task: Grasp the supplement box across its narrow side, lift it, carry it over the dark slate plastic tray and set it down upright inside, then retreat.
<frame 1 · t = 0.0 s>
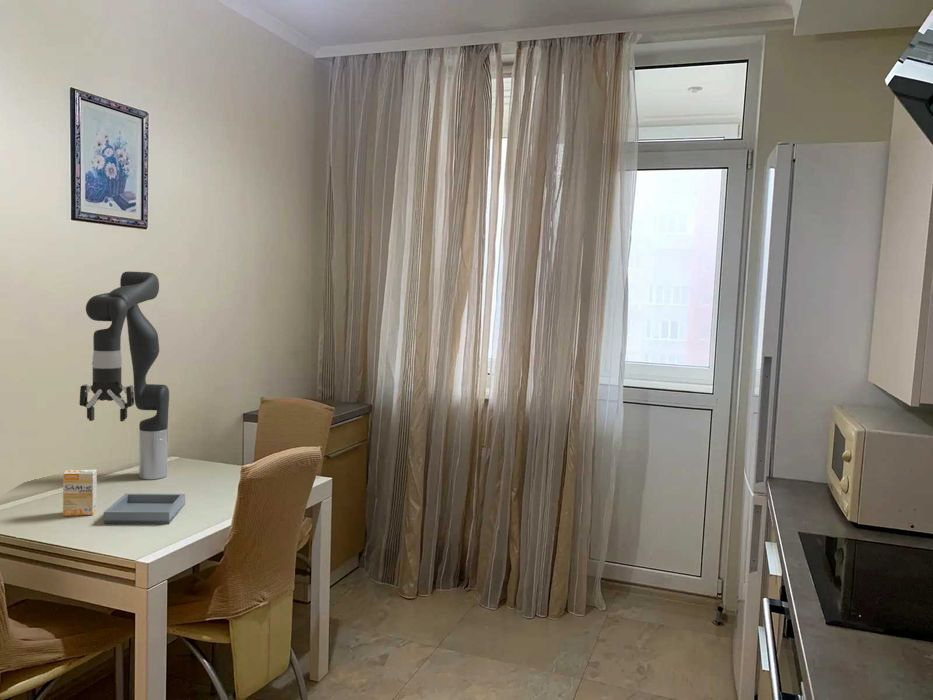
hand: (107, 420, 207), 29 cm above the table, fingers open, 8 cm apart
supplement box: (79, 514, 212), on the table
tray: (146, 513, 215), on the table
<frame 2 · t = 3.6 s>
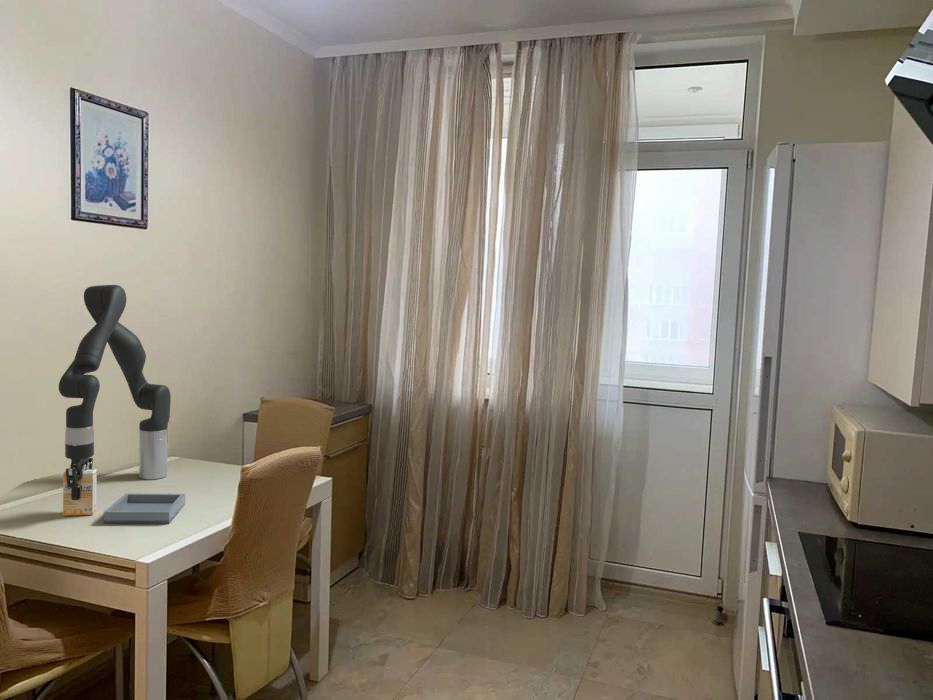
hand: (79, 496, 212), 5 cm above the table, fingers closed on supplement box, 5 cm apart
supplement box: (79, 514, 212), on the table, touching gripper
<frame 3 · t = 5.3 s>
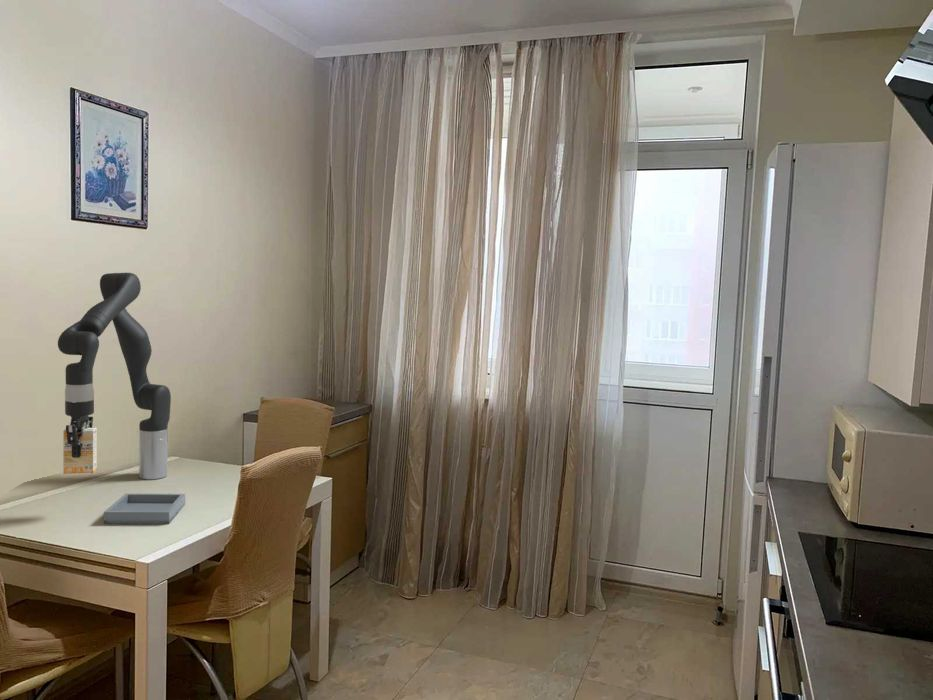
hand: (80, 454, 211), 18 cm above the table, fingers closed on supplement box, 5 cm apart
supplement box: (80, 472, 211), point 13 cm above the table, touching gripper
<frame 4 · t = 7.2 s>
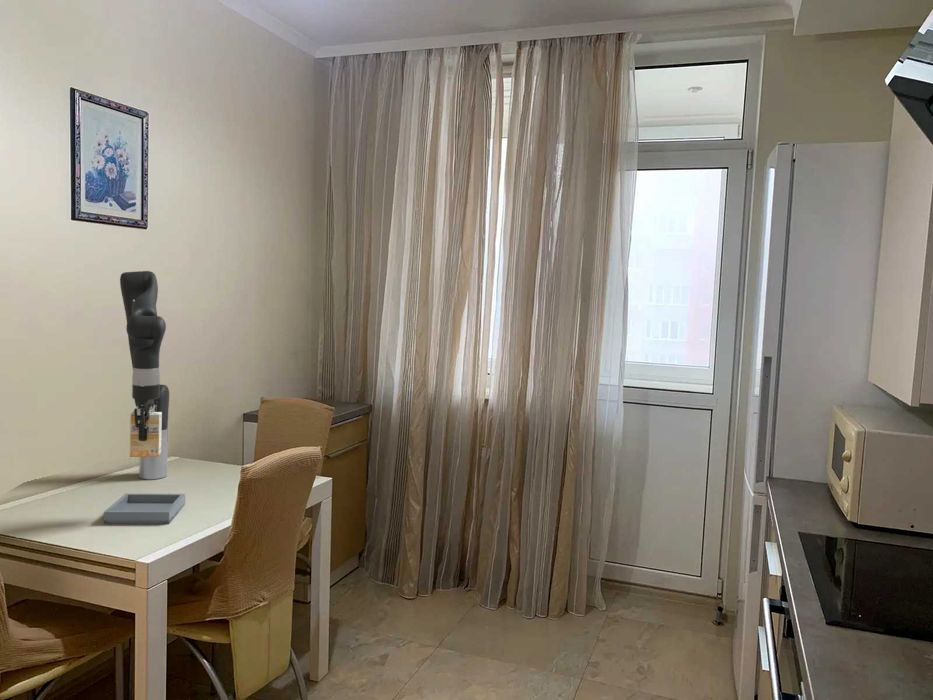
hand: (145, 438, 213), 23 cm above the table, fingers closed on supplement box, 5 cm apart
supplement box: (145, 456, 213), point 18 cm above the table, touching gripper
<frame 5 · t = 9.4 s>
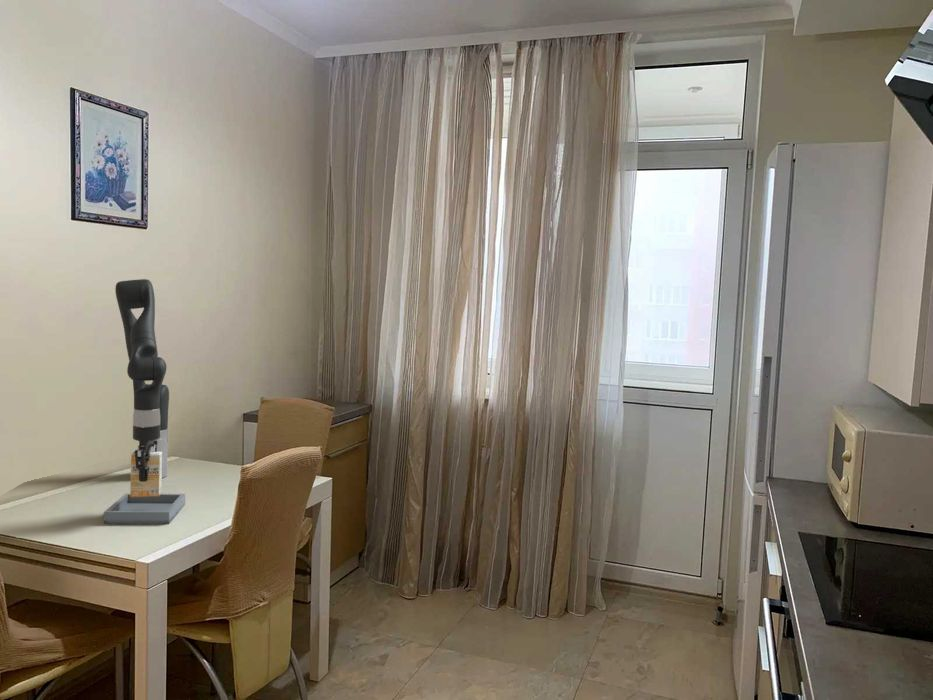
hand: (146, 478, 214), 11 cm above the table, fingers closed on supplement box, 5 cm apart
supplement box: (146, 495, 214), point 6 cm above the table, touching gripper
when the fingers open (8 cm above the table, at t = 11.0 s): supplement box drops 2 cm, resting on tray.
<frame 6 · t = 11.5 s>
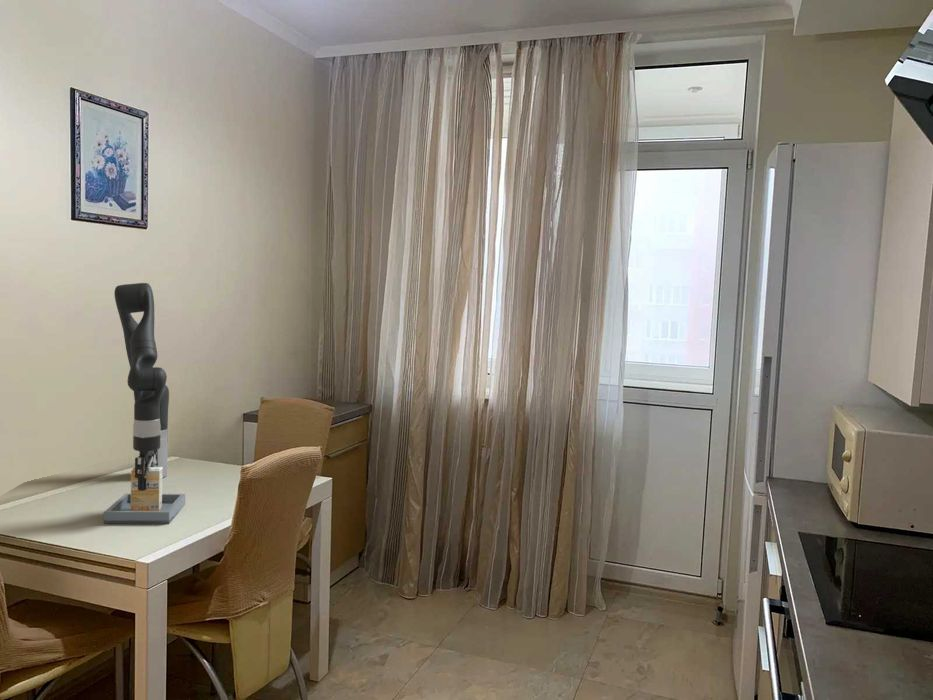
hand: (146, 486, 214), 9 cm above the table, fingers open, 8 cm apart
supplement box: (146, 511, 215), point 1 cm above the table, touching tray
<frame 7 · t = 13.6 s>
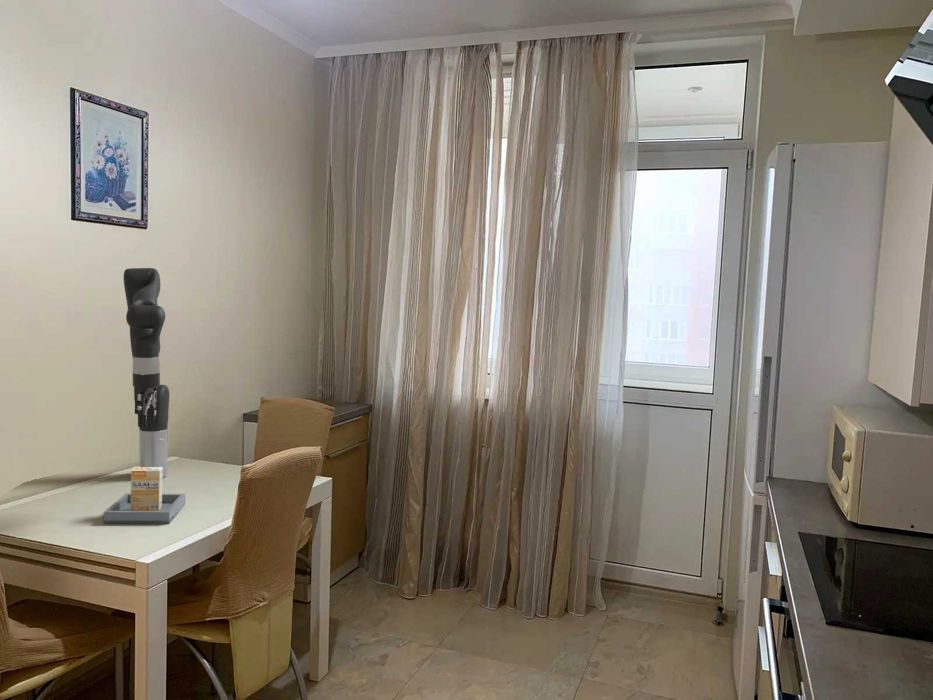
hand: (146, 423, 216), 27 cm above the table, fingers open, 8 cm apart
nothing on the table moved.
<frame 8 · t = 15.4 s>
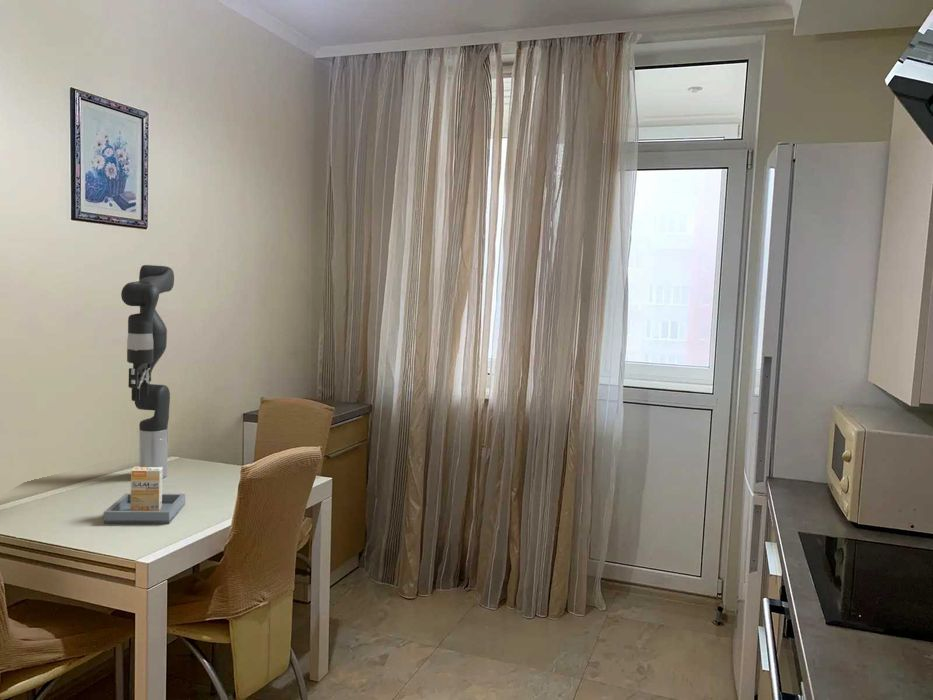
hand: (140, 398, 224), 33 cm above the table, fingers open, 8 cm apart
nothing on the table moved.
at the end: supplement box inside the target area on the tray (0.1 cm from its centre), point 0.8 cm above the tray's base; supplement box tilted 0°; the gripper is holding nothing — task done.
